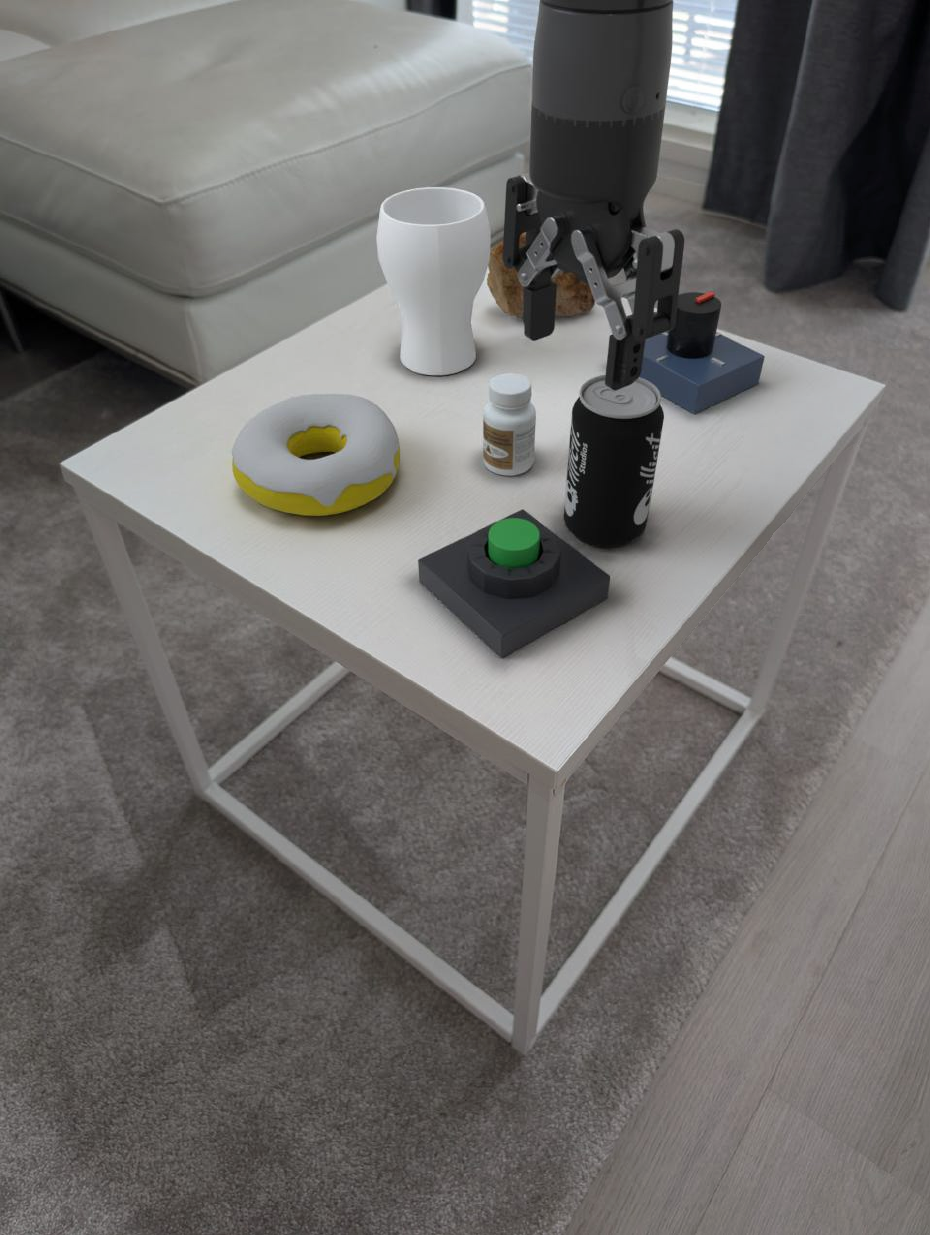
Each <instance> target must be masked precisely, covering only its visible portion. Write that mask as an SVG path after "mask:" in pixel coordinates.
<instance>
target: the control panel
mask: <svg viewBox="0 0 930 1235" xmlns="http://www.w3.org/2000/svg"><path fill="white" fill-rule="evenodd" d="M667 338H668V331H667V332H664V333H662V334H659V335H657V336H654V337H651V338H649V339H646V341H645V348H644V356H643V359H642V360H643V363H642V371H641V375H640V376H639V377H640V378H643V379H645V380H647V381H649V382H651V383H652V384H653V385H655V386H656V387H657V388H658V390H659V392H660V394H661V397H663V398H666V399H667V400H668V401H671V403H674V404H676V405H677V406H679V407H681V408H683V409H685V410H686V411H688V412H689V413H691V414H693V415H695V414H697V413H699V412H702V411H704V410H706V409H709V408H710V407H712V406H714V405H716V404H719V403H721V402H723V401H725V400H728V399H729V398H732V397H733V396H735V395H737V394H740V393H742V392H744V391H747V390H748V389H751V388H753V387H754V386H756V385H758V384H759V383H760V378H761V375H762V370H763V366H764V362H765V357H766V356H765V355H764V354H762V353H760V352H759V351H755V350H754V349H752V348H750V347H748V346H745V345H744V344H742V343H740V342H738V341H735V340H733V339H731V338H730V337H728V336H725V335H723V334H722V333H721V332H718V331H716V336H715V341H714V346H713V351H712V352H711V353H710V354H709V355H707V356H705V357H701V358H685V357H680V356H677V355H675V354H673V353H671V352H670V351H669V350H668V349H667V346H666V344H667Z"/></svg>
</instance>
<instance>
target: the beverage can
mask: <svg viewBox="0 0 930 1235" xmlns="http://www.w3.org/2000/svg"><path fill="white" fill-rule="evenodd" d="M605 376H606V374H600V375H597V376H595V377H592V378H590V379H588V380H586V381H585V382H584V383H582V385H581V387H580V389H579V396H578V398H577V399H576V400H575V402H574V404H573V406H572V409H571V420H570V431H569V432H570V433H569V443H568V444H569V445H568V455H567V456H568V457H567V468H566V481H565V492H564V493H565V494H564V504H563V505H564V506H563V521H564V525H565V527H566V528H567V530H568V531H569V532H570V533H571V534H572V535H573V536H574V537H575V538H576V539H577V540H578V541H580V542H582V543H584V544H586V545H588V546H591V547H595V548H600V549H615V548H620V547H623V546H626V545H628V544H630V543H632V542H633V541H635V540H636V539H638V538H639V537H640V536H641V535H642V534H643V533H644V531H645V530H646V528H647V525H648V518H649V513H650V506H651V502H652V501H651V500H652V494H653V488H654V482H655V476H656V470H657V463H658V457H659V450H660V446H661V440H662V432H663V426H664V422H665V412H664V409H663V407H662V405H661V401H662V395H661V394H660V392H659V390H658V388H657V387H656V386H655V385H653V384H652V383H651V382H649V381H647V380H645V379H643V378H640V377H639V378H638V379H637V380H635V382H634V383H633V384H631V385H629V386H626V387H624V388H621V389H619V390H616V391H614V390H612V389H611V388H609V387H607V386H606V385H605Z"/></svg>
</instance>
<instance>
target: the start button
mask: <svg viewBox="0 0 930 1235" xmlns="http://www.w3.org/2000/svg"><path fill="white" fill-rule="evenodd" d="M500 520H501V519H500ZM497 521H498V522H497ZM497 521H496V522H497V523H495V524H494V525H493V526H492V527H491V528H490V530H489V550H488V552H489V557H490V558H491V560H492V561H493V562H494V563H495V564H497V565H499V566H503V567H507V568H510V569H511V568H522V567H527V566H529V565H531V564H533V563H534V562H535V561H536V560H537V558H538V555H539V542H540V532H539V530H538V528H537V527H536V526H535V525H534V524H533V523H531V522H529V521H527V520H524V519H518V518H509V519H504V520H501V521H499V520H497Z"/></svg>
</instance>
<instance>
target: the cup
mask: <svg viewBox="0 0 930 1235" xmlns="http://www.w3.org/2000/svg"><path fill="white" fill-rule="evenodd" d="M488 217H489V216H488V213H487V209H486V203H485V202H484V201H483V199H482V197H480V196H478V195H477V194H475V193H473V192H471V191H469V190H464V189H461V188H455V187H444V186H427V187H415V188H411V189H406V190H402V191H399V192H397V193H393V194H392V195H390V196H388V197H386V198H385V200H383V201H382V202H381V204H380V209H379V215H378V222H377V229H376V237H375V239H376V250H377V259H378V262H379V265H380V268H381V270H382V273H383V276H384V278H385V281H386V283H387V286H388V288H389V289H390V291H391V292H392V294H393V296H394V297H395V299H396V301H397V302H398V305H399V311H400V316H401V321H402V333H401V342H400V355H399V358H400V361H401V364H402V365H403V366H404V367H405V368H406V369H407V370H410V371H412V372H413V373H418V374H420V375H429V376H446V375H452V374H457V373H459V372H462V371H464V370H466V369H468V368H469V367H471V366H472V365H473V364H474V362H475V360H476V359H477V350H476V344H475V343H476V342H475V338H474V332H473V326H472V316H473V308H474V300H475V298H476V296H477V294H478V292H479V291H480V289H481V287H482V285H483V283H484V281H485V277H486V275H487V271H488V269H489V268H488V264H489V261H490V252H491V241H492V240H491V226H490V222H489V218H488Z"/></svg>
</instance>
